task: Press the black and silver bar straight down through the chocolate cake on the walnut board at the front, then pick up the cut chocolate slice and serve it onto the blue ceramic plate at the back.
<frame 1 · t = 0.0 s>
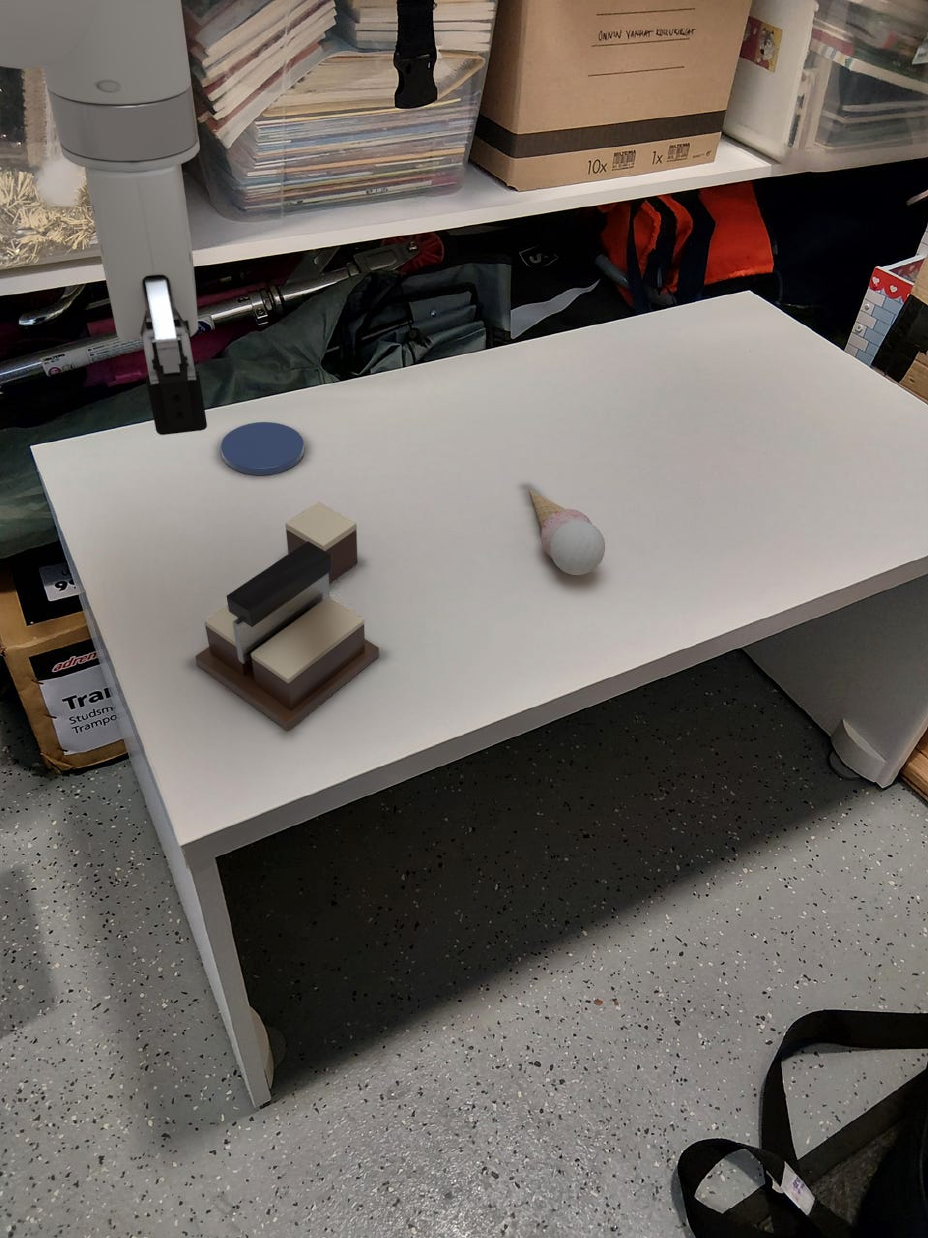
hand: (175, 390, 64), 19 cm above the table, tool pointing down, fingers open, 9 cm apart
black and silver bar: (283, 602, 69), point 6 cm above the table, slide at 0.0 cm
slice: (323, 563, 81), on the table
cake: (289, 660, 73), on the table
plate: (263, 451, 93), on the table
ice cream cone: (549, 542, 86), on the table
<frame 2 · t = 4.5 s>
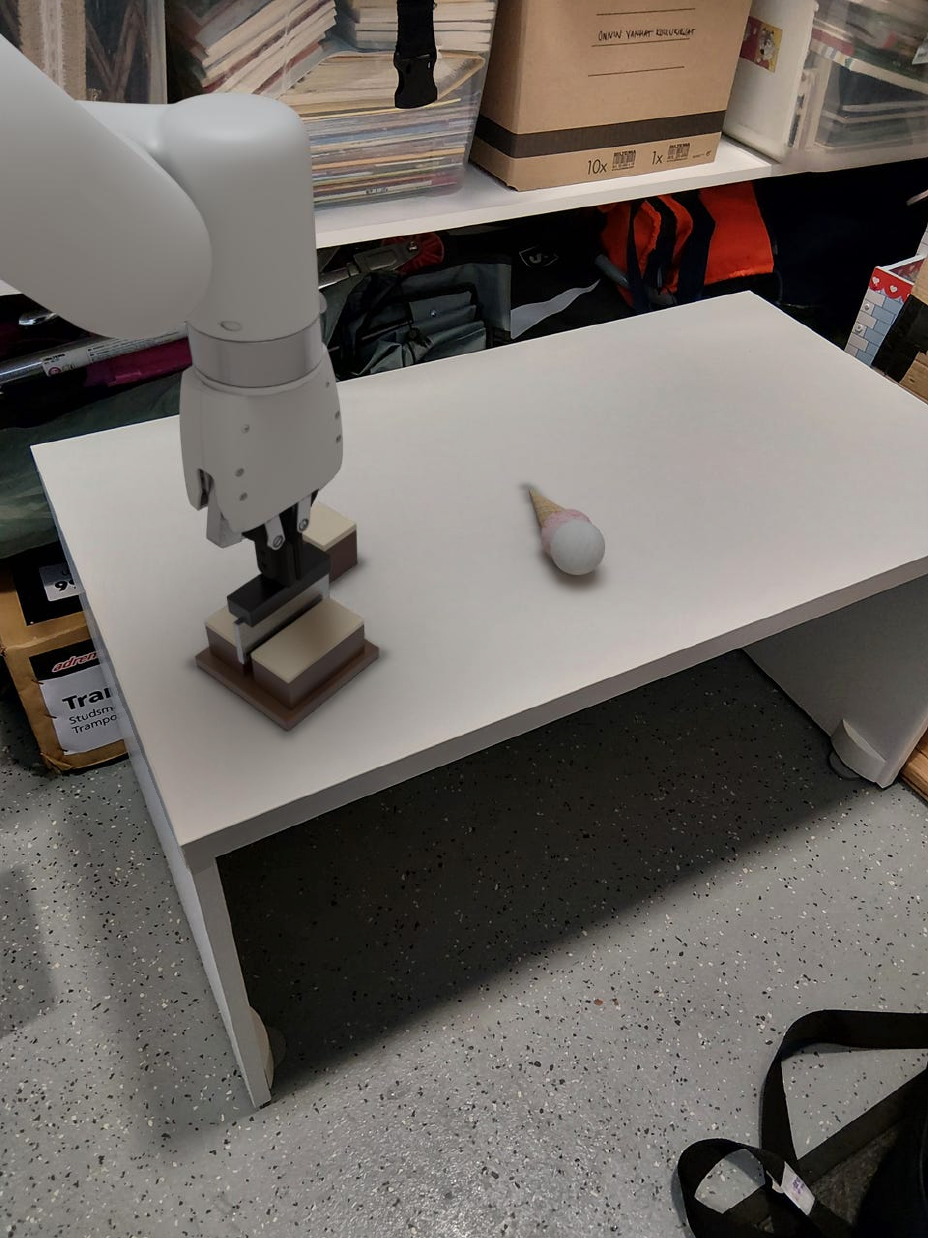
hand: (282, 573, 67), 9 cm above the table, tool pointing down, fingers closed
black and silver bar: (283, 603, 69), point 6 cm above the table, slide at -0.1 cm, touching gripper
everything else where it was.
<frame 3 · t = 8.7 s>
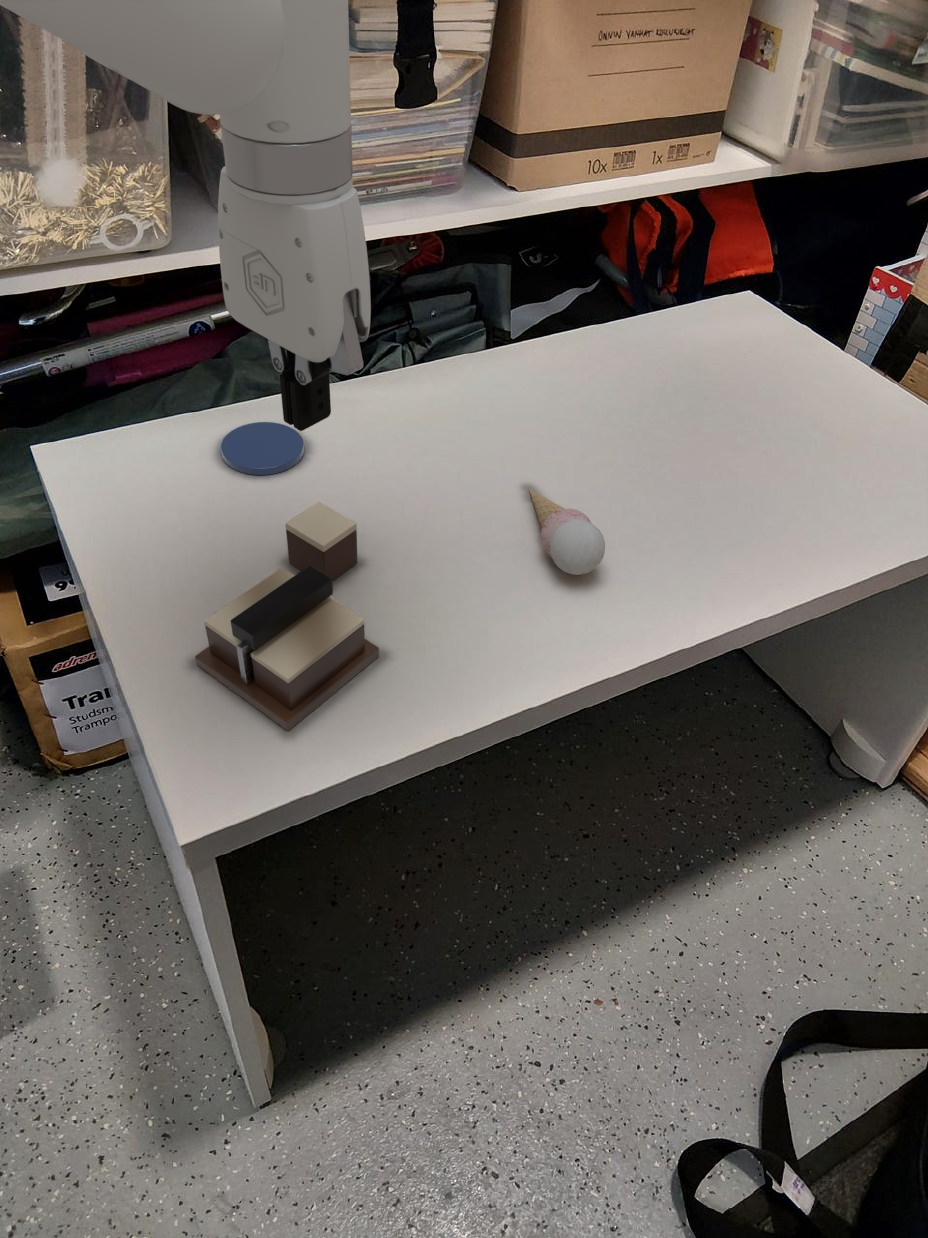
hand: (307, 419, 69), 16 cm above the table, tool pointing down, fingers closed
black and silver bar: (285, 625, 70), point 4 cm above the table, slide at -2.4 cm
everything else where it was.
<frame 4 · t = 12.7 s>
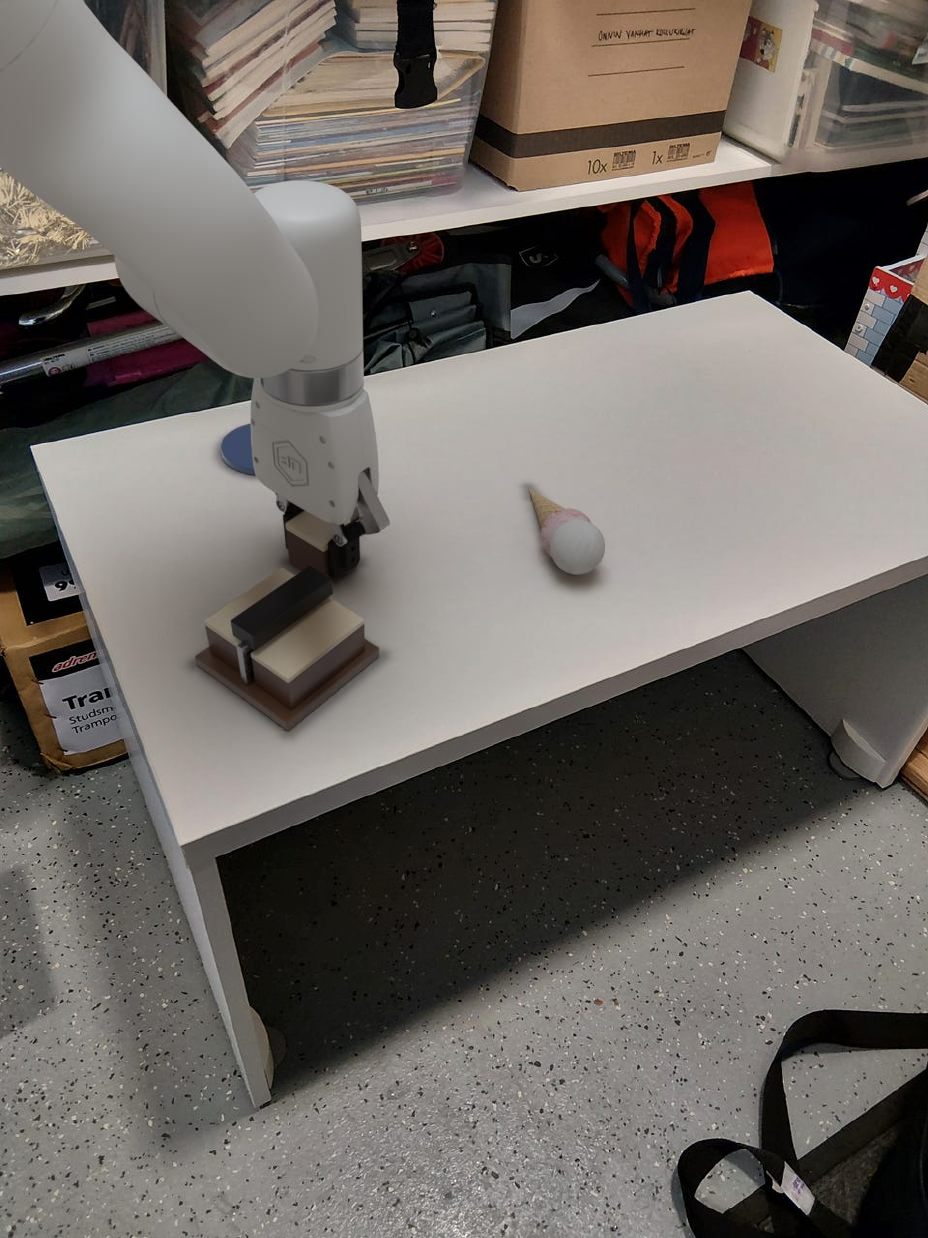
hand: (322, 554, 81), 1 cm above the table, tool pointing down, fingers closed on slice, 4 cm apart
slice: (323, 563, 81), on the table, touching gripper
everything else where it was.
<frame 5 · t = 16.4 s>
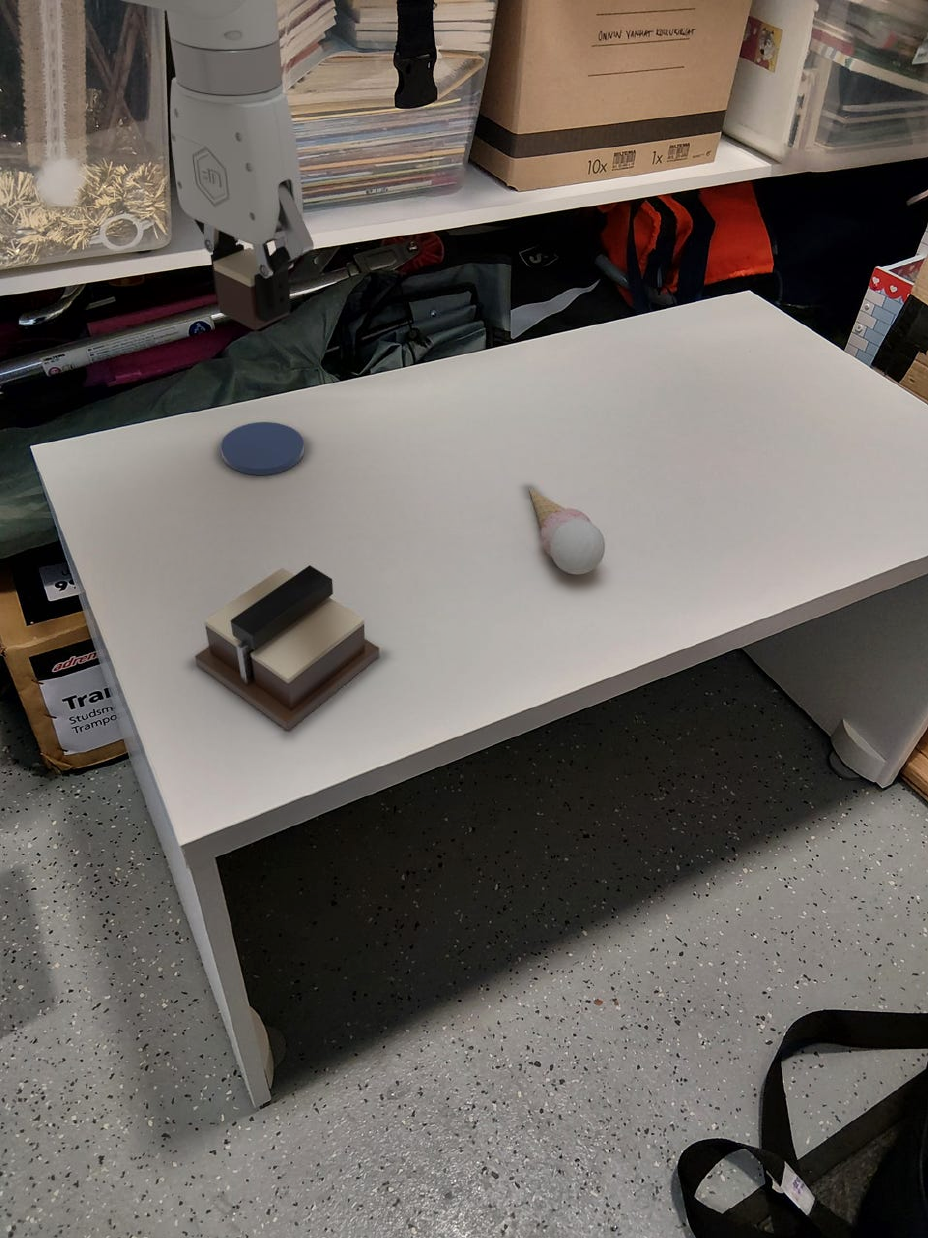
hand: (253, 303, 80), 16 cm above the table, tool pointing down, fingers closed on slice, 4 cm apart
slice: (254, 313, 80), point 16 cm above the table, touching gripper
everything else where it was.
when the fingers open (2 cm above the table, at t = 20.1 s): slice stays where it is, resting on plate.
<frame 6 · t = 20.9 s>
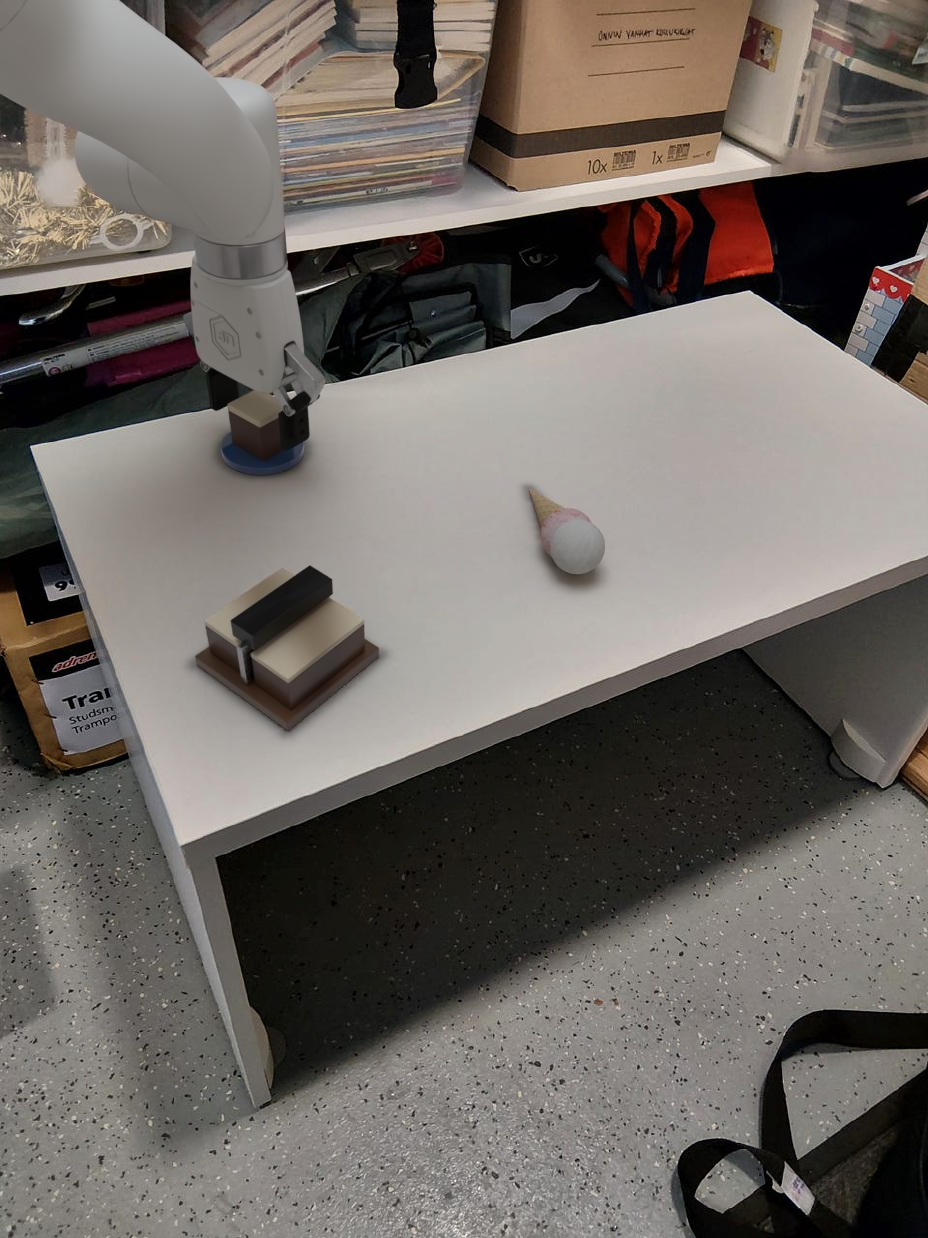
hand: (259, 423, 90), 3 cm above the table, tool pointing down, fingers open, 9 cm apart
slice: (263, 443, 92), point 1 cm above the table, touching plate
everything else where it was.
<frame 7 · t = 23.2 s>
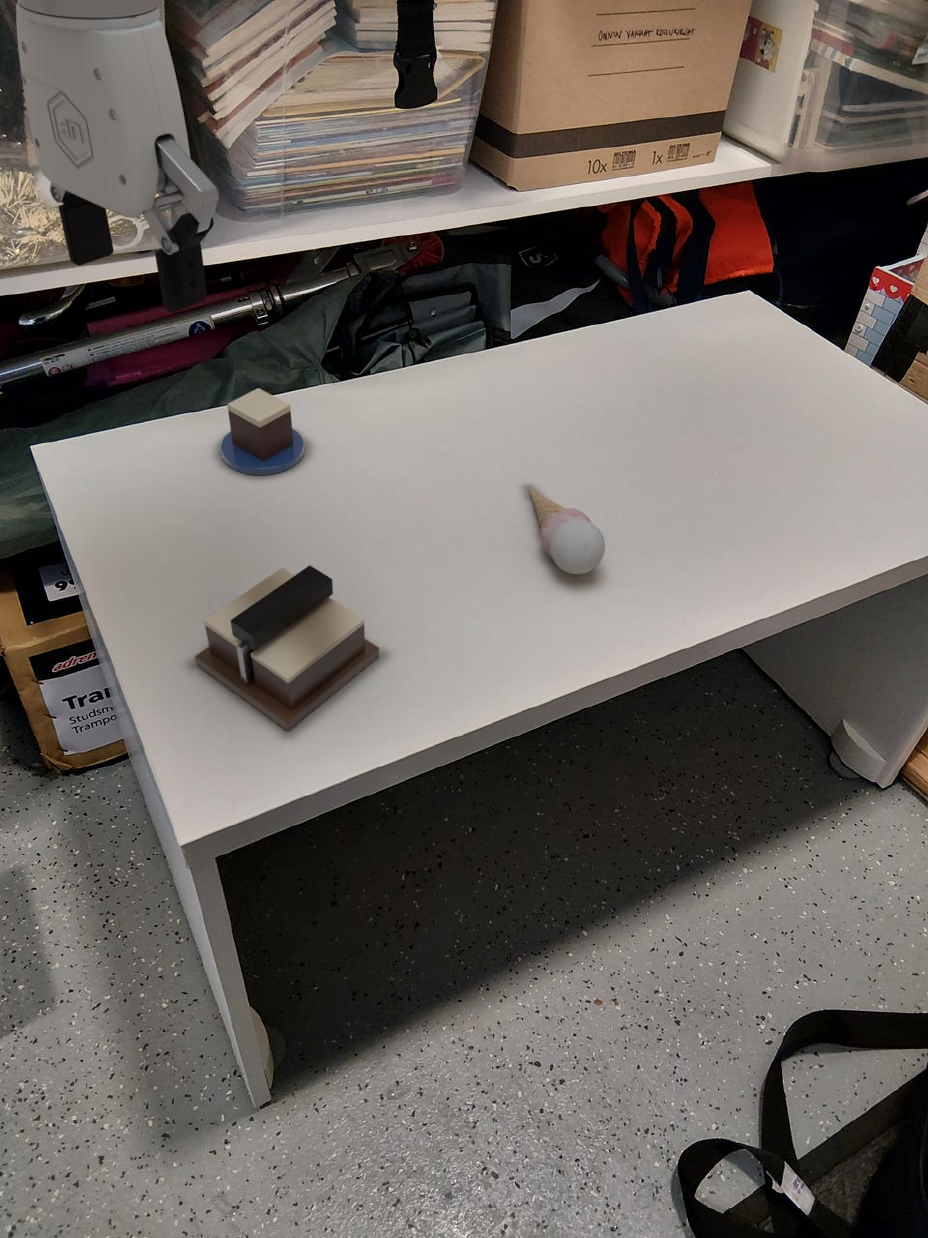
hand: (138, 281, 64), 25 cm above the table, tool pointing down, fingers open, 9 cm apart
nothing on the table moved.
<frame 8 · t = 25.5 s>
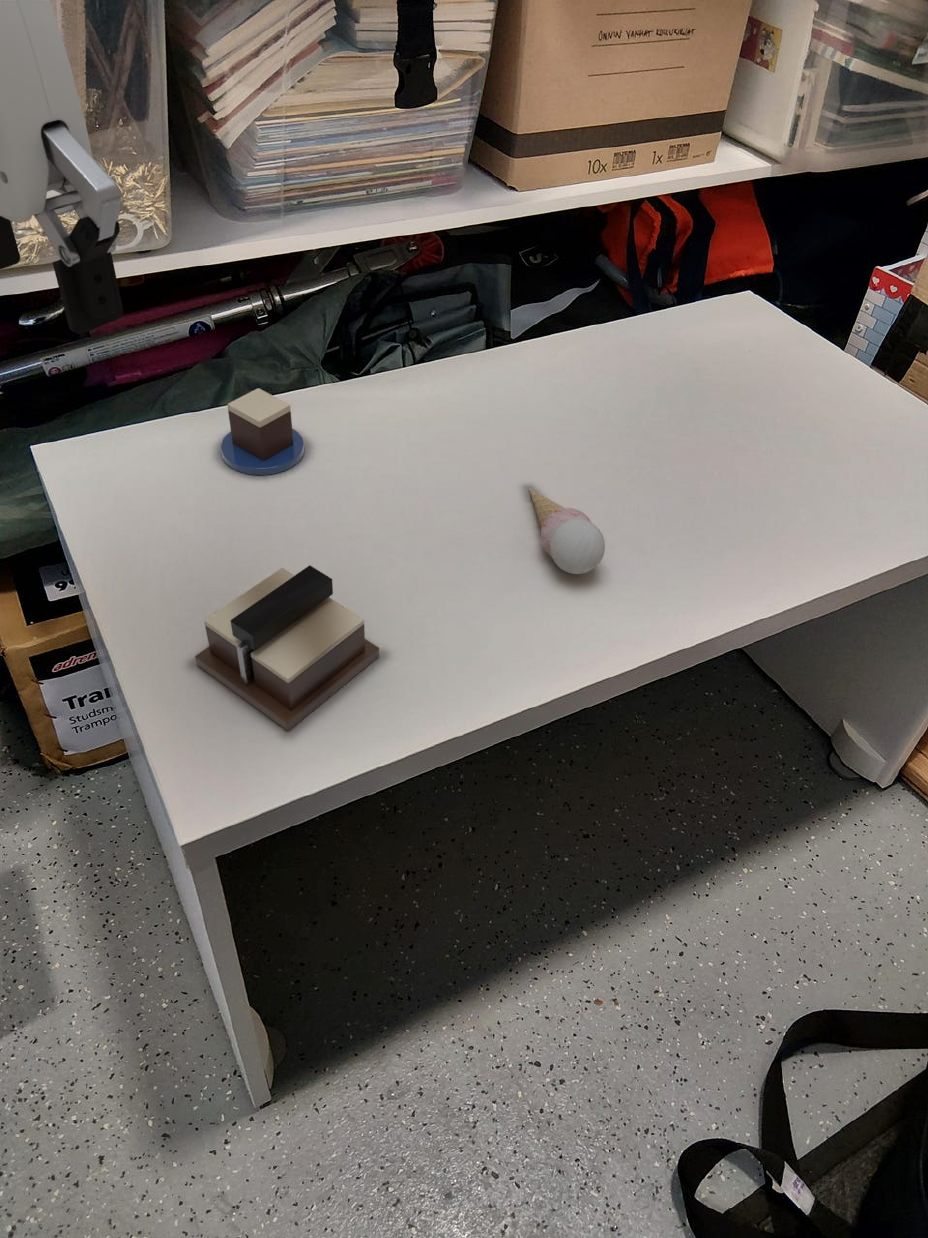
hand: (44, 295, 54), 28 cm above the table, tool pointing down, fingers open, 9 cm apart
nothing on the table moved.
at the end: black and silver bar slide at -2.4 cm; slice 0.1 cm off-centre on the plate, point 0.8 cm above the plate's base; slice tilted 0° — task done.
